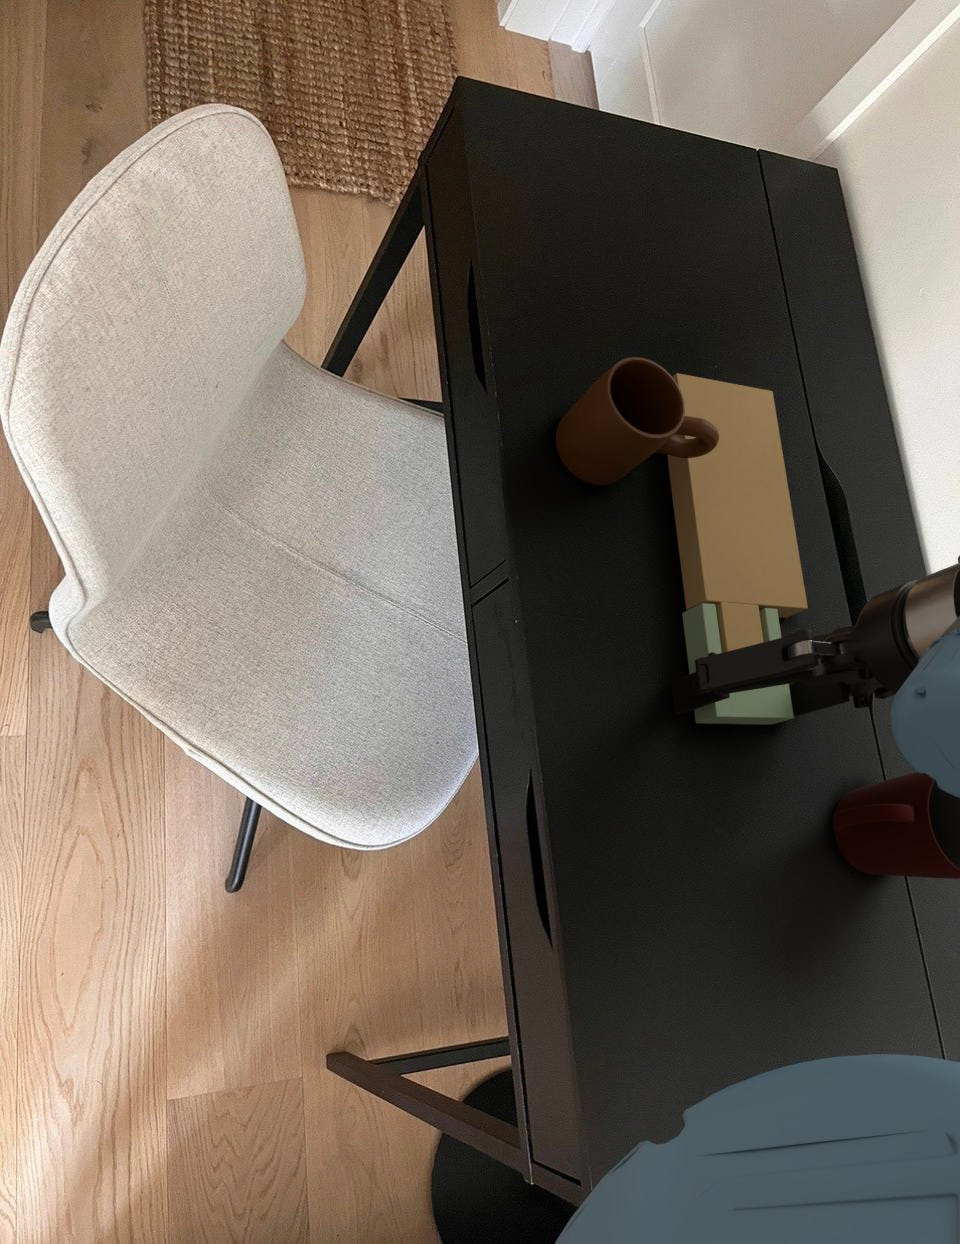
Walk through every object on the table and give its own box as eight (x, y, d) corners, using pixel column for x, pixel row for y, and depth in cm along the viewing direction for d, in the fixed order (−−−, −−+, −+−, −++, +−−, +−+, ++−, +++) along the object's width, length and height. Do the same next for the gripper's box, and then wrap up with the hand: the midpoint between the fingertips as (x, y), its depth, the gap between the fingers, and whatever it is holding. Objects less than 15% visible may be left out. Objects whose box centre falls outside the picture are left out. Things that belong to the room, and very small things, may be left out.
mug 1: (672, 445, 86) (735, 395, 78) (663, 516, 83) (728, 472, 75) (559, 398, 83) (612, 340, 74) (546, 470, 80) (599, 419, 72)
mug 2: (799, 875, 78) (901, 870, 68) (793, 771, 81) (891, 751, 71) (908, 886, 82) (1019, 882, 72) (899, 786, 85) (1005, 770, 75)
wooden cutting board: (694, 677, 80) (715, 668, 77) (658, 389, 88) (676, 372, 85) (795, 681, 84) (818, 673, 81) (752, 406, 92) (772, 390, 89)
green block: (771, 724, 81) (794, 718, 79) (695, 723, 78) (716, 716, 76) (755, 618, 84) (777, 608, 81) (681, 613, 81) (701, 602, 78)
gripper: (1053, 589, 66) (834, 663, 85) (789, 562, 57) (611, 651, 76) (1078, 692, 64) (848, 743, 83) (807, 680, 55) (620, 741, 74)
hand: (734, 699), depth 80 cm, fingers open, 11 cm apart
